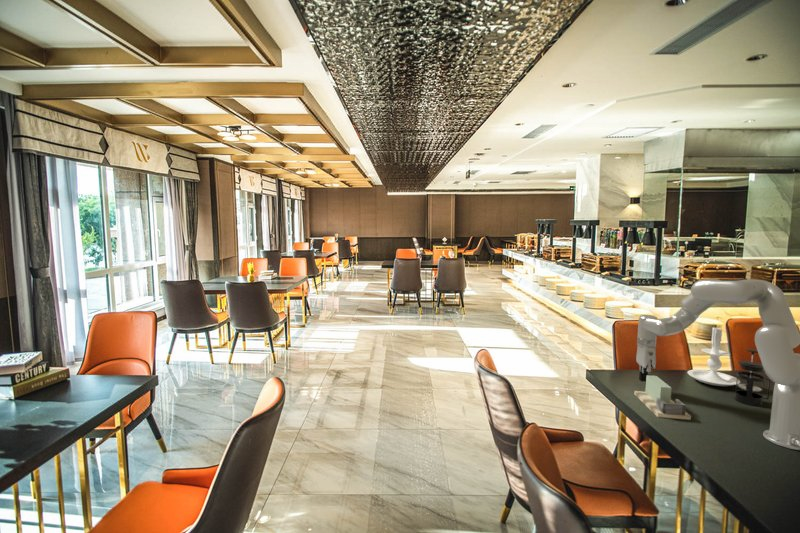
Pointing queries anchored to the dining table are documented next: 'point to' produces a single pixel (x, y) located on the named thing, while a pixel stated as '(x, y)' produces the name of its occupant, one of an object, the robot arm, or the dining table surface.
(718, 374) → the candlestick
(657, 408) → the board
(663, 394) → the pale green block
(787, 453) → the dining table surface
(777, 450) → the dining table surface
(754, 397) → the french press
